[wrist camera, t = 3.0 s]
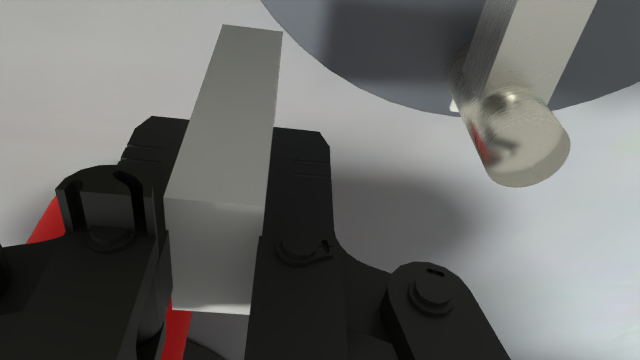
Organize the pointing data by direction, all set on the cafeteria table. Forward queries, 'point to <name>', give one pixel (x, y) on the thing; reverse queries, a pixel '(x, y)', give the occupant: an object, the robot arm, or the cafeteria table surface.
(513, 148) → the pointer
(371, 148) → the cafeteria table surface
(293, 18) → the dial plate
